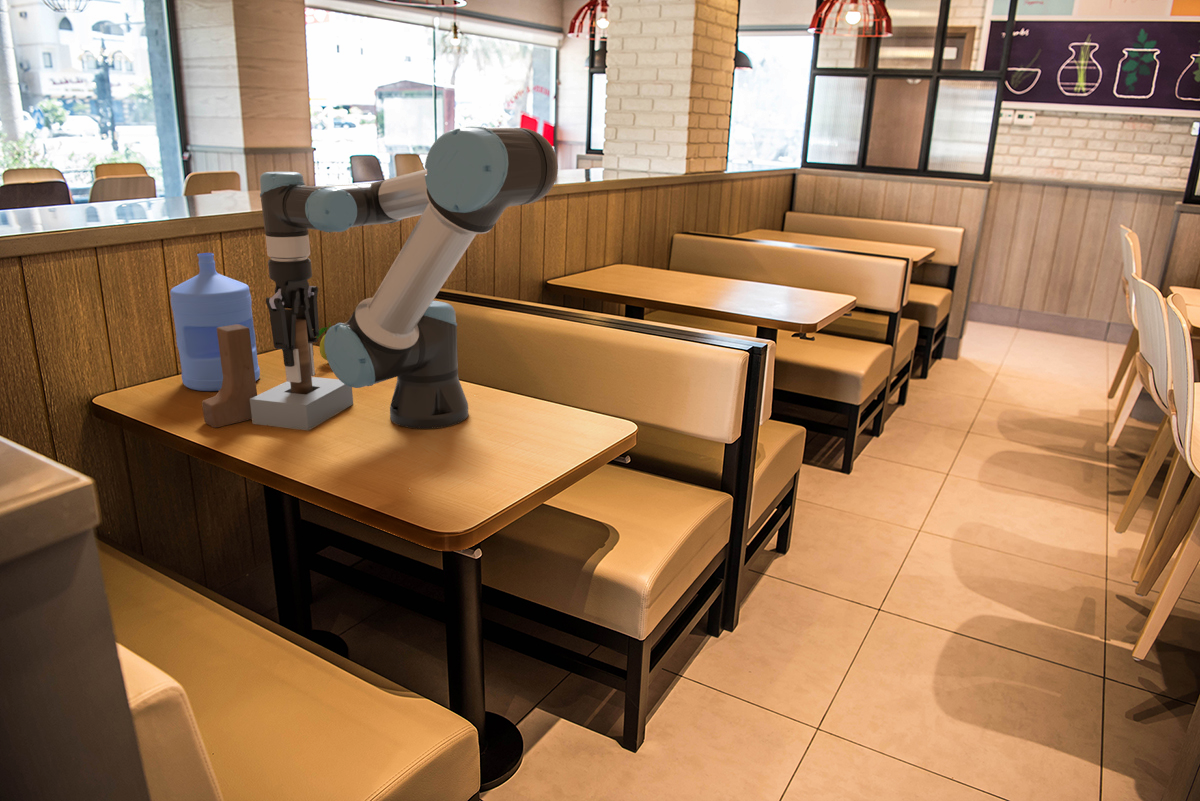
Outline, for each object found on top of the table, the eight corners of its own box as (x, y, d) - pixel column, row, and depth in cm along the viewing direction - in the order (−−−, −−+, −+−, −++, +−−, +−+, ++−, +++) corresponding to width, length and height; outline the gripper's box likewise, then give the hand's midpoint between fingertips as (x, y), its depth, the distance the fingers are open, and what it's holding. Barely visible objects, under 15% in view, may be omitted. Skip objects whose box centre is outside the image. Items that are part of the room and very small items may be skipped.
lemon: (318, 367, 193) (314, 326, 190) (317, 361, 198) (314, 320, 195) (348, 365, 195) (344, 324, 192) (346, 359, 200) (343, 319, 197)
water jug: (173, 379, 182) (153, 252, 173) (245, 367, 192) (230, 246, 183) (196, 397, 171) (177, 262, 162) (271, 383, 181) (257, 255, 172)
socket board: (301, 398, 172) (299, 375, 170) (353, 404, 169) (351, 380, 168) (252, 423, 157) (249, 398, 156) (308, 430, 154) (305, 405, 153)
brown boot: (214, 429, 154) (201, 335, 148) (203, 423, 157) (190, 331, 151) (260, 417, 161) (250, 327, 155) (250, 412, 163) (239, 323, 158)
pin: (317, 398, 164) (310, 319, 159) (306, 404, 160) (298, 323, 155) (299, 396, 165) (292, 317, 160) (287, 402, 161) (279, 322, 156)
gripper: (298, 250, 162) (309, 364, 170) (242, 263, 146) (256, 388, 154) (332, 252, 160) (341, 368, 168) (279, 266, 145) (292, 392, 152)
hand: (301, 377), depth 161 cm, fingers closed on pin, 4 cm apart
